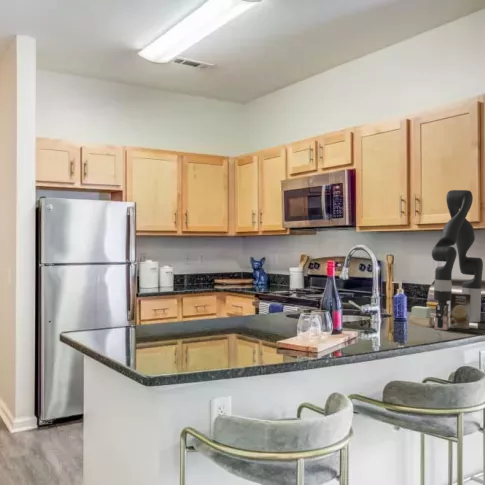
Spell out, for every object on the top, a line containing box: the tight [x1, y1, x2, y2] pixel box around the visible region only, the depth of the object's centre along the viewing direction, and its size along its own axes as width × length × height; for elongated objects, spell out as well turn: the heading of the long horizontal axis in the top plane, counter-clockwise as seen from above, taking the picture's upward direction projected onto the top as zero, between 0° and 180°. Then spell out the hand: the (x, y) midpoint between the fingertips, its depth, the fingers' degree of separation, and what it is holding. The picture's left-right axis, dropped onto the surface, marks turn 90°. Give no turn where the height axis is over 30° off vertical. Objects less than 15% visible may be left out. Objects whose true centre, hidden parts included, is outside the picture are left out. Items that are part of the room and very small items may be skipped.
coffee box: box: [447, 292, 471, 330], centre depth 254 cm, size 9×6×16 cm
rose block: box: [433, 315, 450, 331], centre depth 246 cm, size 5×5×6 cm
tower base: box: [408, 315, 435, 328], centre depth 256 cm, size 9×9×4 cm
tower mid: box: [410, 305, 432, 318], centre depth 257 cm, size 7×7×4 cm
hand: (441, 326), depth 246 cm, fingers closed on rose block, 5 cm apart
